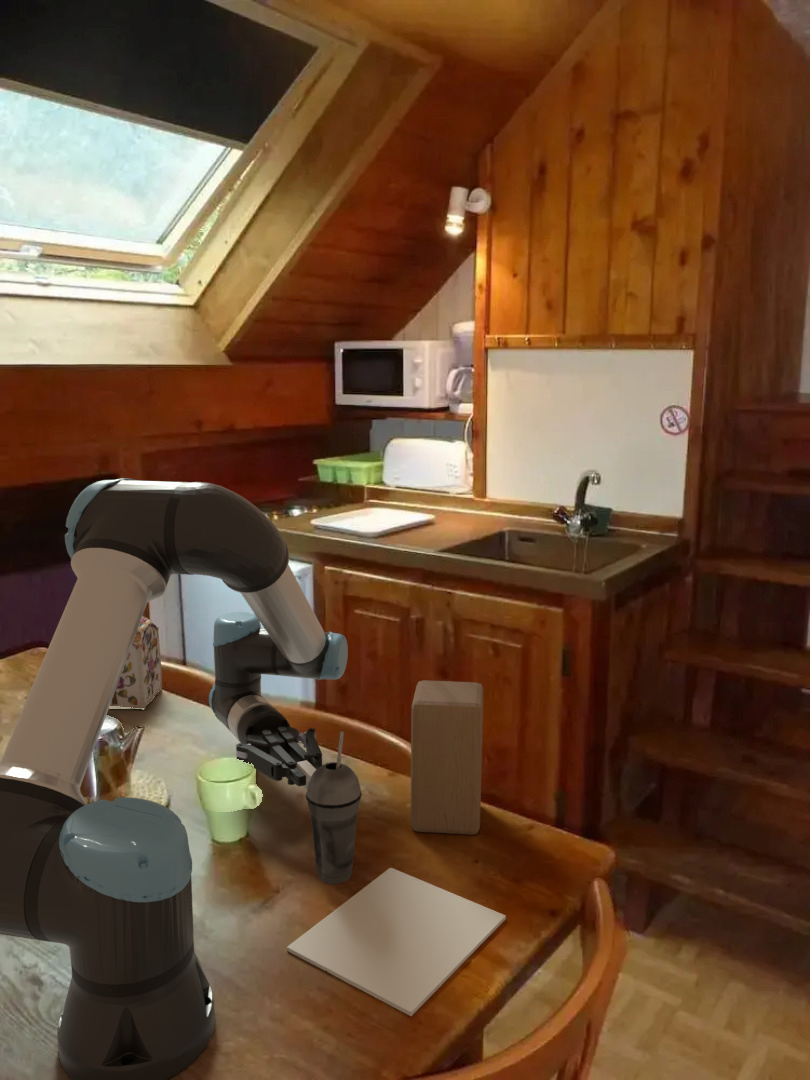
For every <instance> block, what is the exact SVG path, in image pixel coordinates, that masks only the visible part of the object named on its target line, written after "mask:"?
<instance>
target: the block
mask: <svg viewBox="0 0 810 1080" xmlns="http://www.w3.org/2000/svg"><path fill="white" fill-rule="evenodd" d="M412 699H413V700H412V704H411V711H410V712H411V715H410V716H411V719H410V721H411V723H410V724H411V725H410V727H411V729H410V730H411V731H410V734H411V735H410V738H411V739H410V826H411V828H412V830H413V831H415V832H419V833H420V832H422V833H438V834H440V833H441V834H455V835H457V834H458V835H460V834H461V835H471V836H472V835H473V836H474V835H476V834H478V833H479V831H480V829H481V807H482V806H481V804H482V803H481V801H482V800H481V799H482V798H481V797H482V767H483V766H482V763H483V762H482V760H483V723H484V722H483V721H484V687H483V685H482V683H479V682H473V681H472V682H471V681H447V680H428V679H427V680H425V679H422V680H420V681H418V682H417V684H416V686H415V692H414V695H413V698H412Z"/></svg>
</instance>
